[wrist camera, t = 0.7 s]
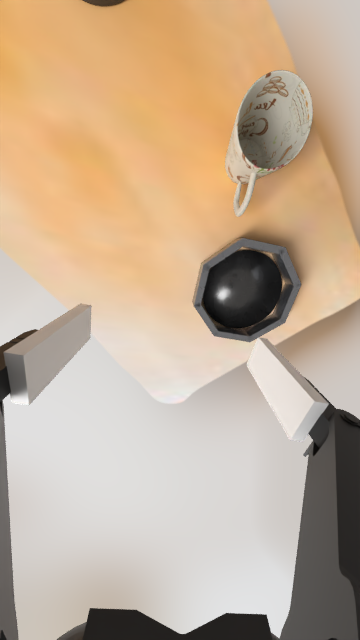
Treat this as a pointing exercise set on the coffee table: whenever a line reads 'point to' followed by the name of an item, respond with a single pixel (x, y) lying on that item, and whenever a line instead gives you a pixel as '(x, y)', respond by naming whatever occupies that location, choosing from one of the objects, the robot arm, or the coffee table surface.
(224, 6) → the coffee table surface
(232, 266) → the gray octagonal container
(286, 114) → the mug
